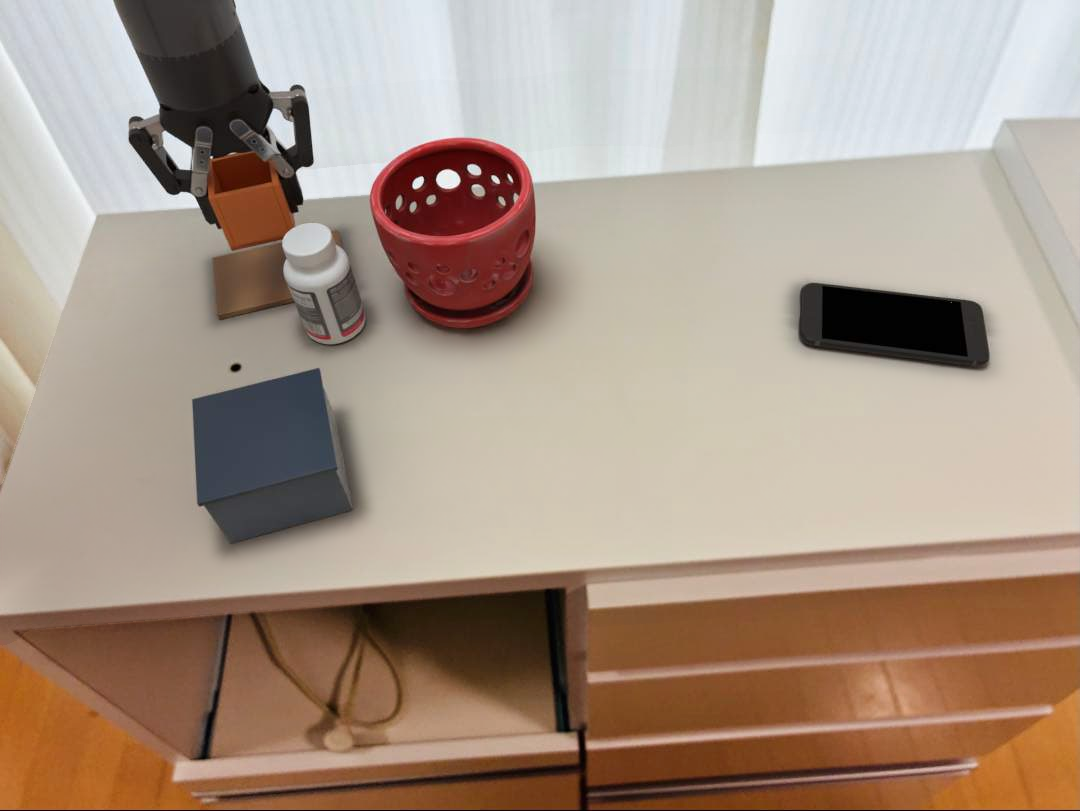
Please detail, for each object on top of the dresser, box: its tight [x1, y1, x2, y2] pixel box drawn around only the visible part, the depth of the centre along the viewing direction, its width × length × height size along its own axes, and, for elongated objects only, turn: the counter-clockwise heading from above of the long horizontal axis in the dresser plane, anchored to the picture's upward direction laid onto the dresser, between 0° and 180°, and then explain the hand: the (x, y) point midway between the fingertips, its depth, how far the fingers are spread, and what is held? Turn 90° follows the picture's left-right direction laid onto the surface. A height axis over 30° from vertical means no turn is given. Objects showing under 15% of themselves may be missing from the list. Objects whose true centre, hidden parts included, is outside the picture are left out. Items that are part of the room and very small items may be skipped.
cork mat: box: [211, 229, 343, 320], centre depth 77 cm, size 12×8×1 cm, turn 107°
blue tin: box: [191, 367, 354, 544], centre depth 61 cm, size 9×9×6 cm
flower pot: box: [369, 137, 537, 329], centre depth 70 cm, size 13×13×12 cm
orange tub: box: [208, 151, 297, 252], centre depth 70 cm, size 6×6×6 cm
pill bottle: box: [281, 222, 367, 345], centre depth 69 cm, size 5×5×10 cm
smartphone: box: [798, 282, 991, 367], centre depth 69 cm, size 7×15×1 cm, turn 78°
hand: (258, 214), depth 71 cm, fingers closed on orange tub, 5 cm apart
